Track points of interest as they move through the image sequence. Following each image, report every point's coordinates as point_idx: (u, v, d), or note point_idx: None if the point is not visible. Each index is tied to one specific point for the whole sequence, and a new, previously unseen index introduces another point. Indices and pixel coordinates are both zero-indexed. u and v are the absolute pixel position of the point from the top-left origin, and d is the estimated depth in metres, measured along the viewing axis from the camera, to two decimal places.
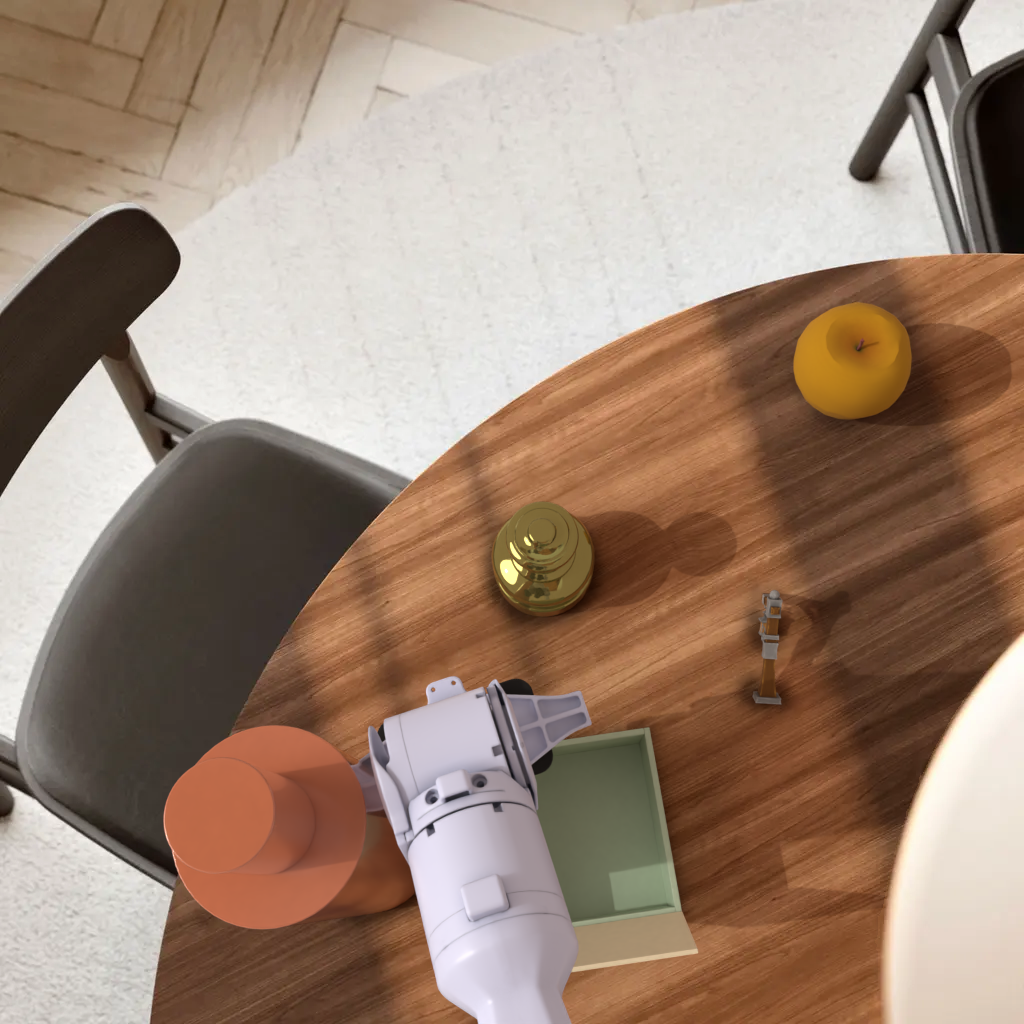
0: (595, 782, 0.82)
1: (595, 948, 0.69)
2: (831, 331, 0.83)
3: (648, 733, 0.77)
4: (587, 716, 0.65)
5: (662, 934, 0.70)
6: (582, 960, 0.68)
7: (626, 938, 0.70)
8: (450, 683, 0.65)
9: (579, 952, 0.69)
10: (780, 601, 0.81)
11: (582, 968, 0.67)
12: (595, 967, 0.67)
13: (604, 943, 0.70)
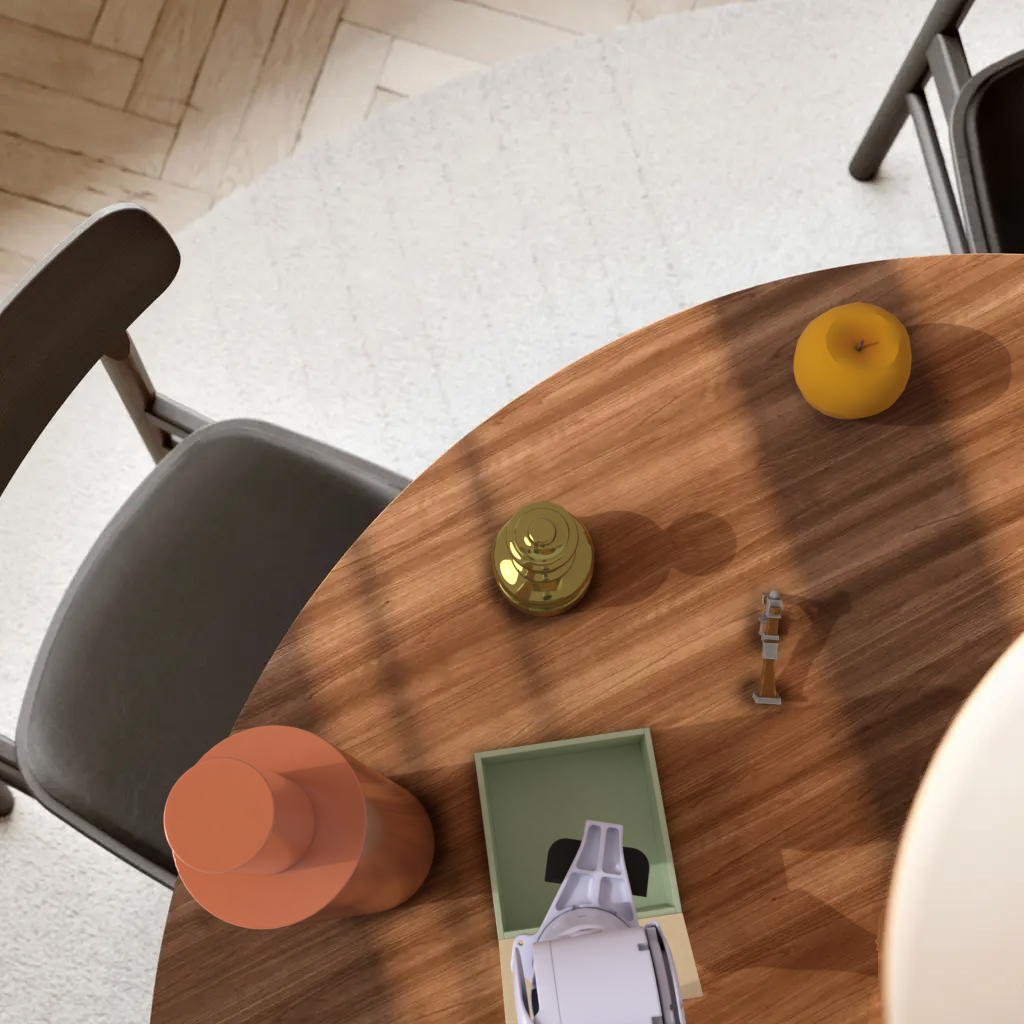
0: (595, 782, 0.82)
1: None
2: (831, 331, 0.83)
3: (648, 733, 0.77)
4: (613, 825, 0.62)
5: None
6: None
7: None
8: (520, 946, 0.60)
9: None
10: (780, 601, 0.81)
11: None
12: None
13: None
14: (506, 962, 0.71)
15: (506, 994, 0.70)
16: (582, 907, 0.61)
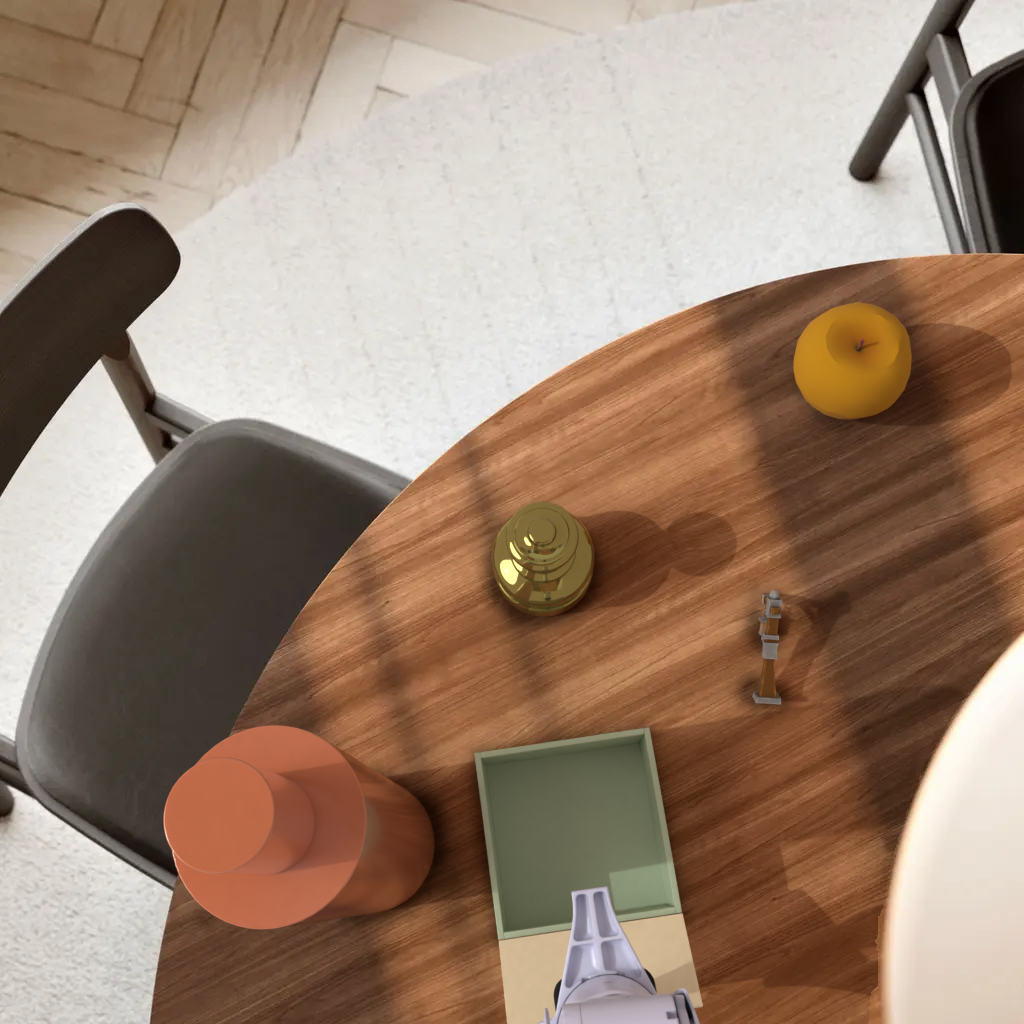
0: (595, 782, 0.82)
1: None
2: (831, 331, 0.83)
3: (648, 733, 0.77)
4: (598, 889, 0.63)
5: (665, 965, 0.71)
6: None
7: None
8: None
9: None
10: (780, 601, 0.81)
11: None
12: None
13: None
14: (507, 966, 0.72)
15: (508, 1002, 0.70)
16: (591, 978, 0.61)
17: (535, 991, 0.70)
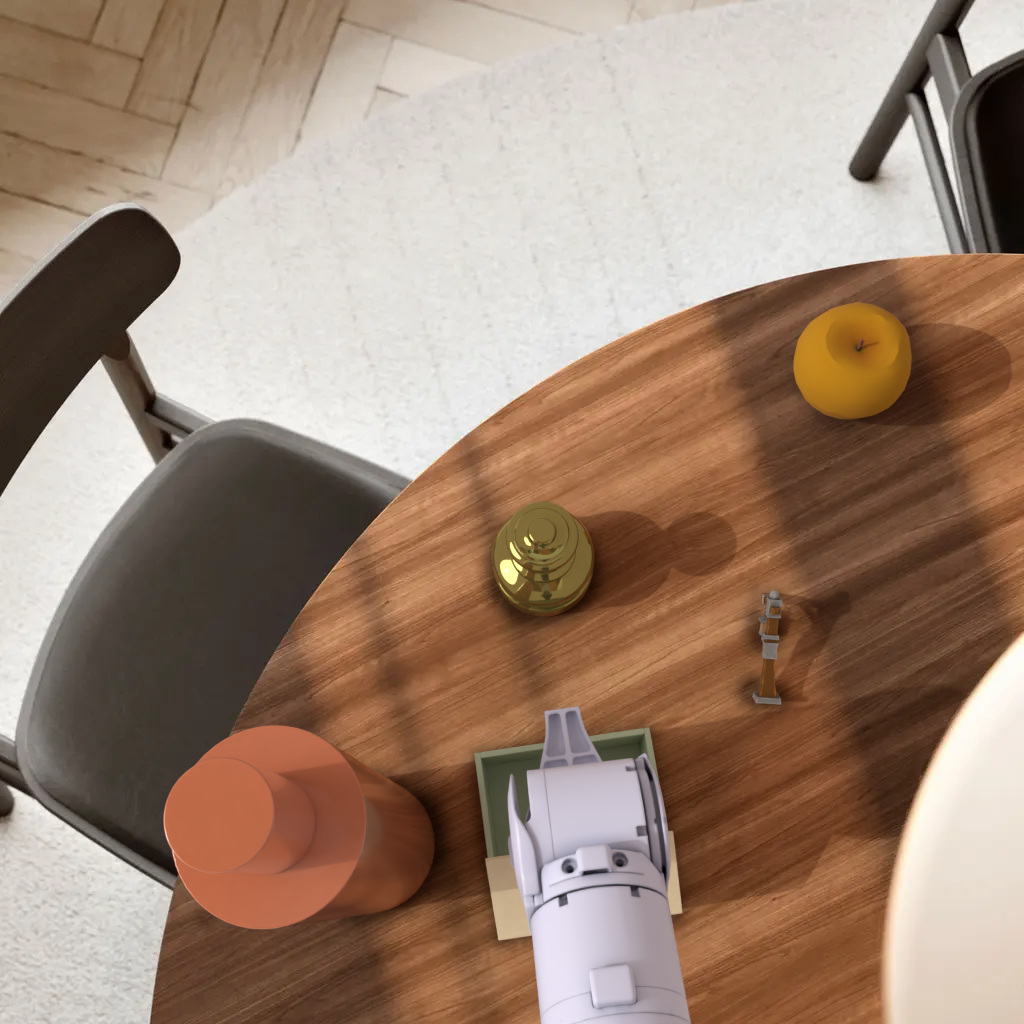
0: None
1: None
2: (831, 331, 0.83)
3: (648, 733, 0.77)
4: (570, 709, 0.65)
5: None
6: None
7: None
8: None
9: None
10: (780, 601, 0.81)
11: None
12: None
13: None
14: None
15: None
16: None
17: None
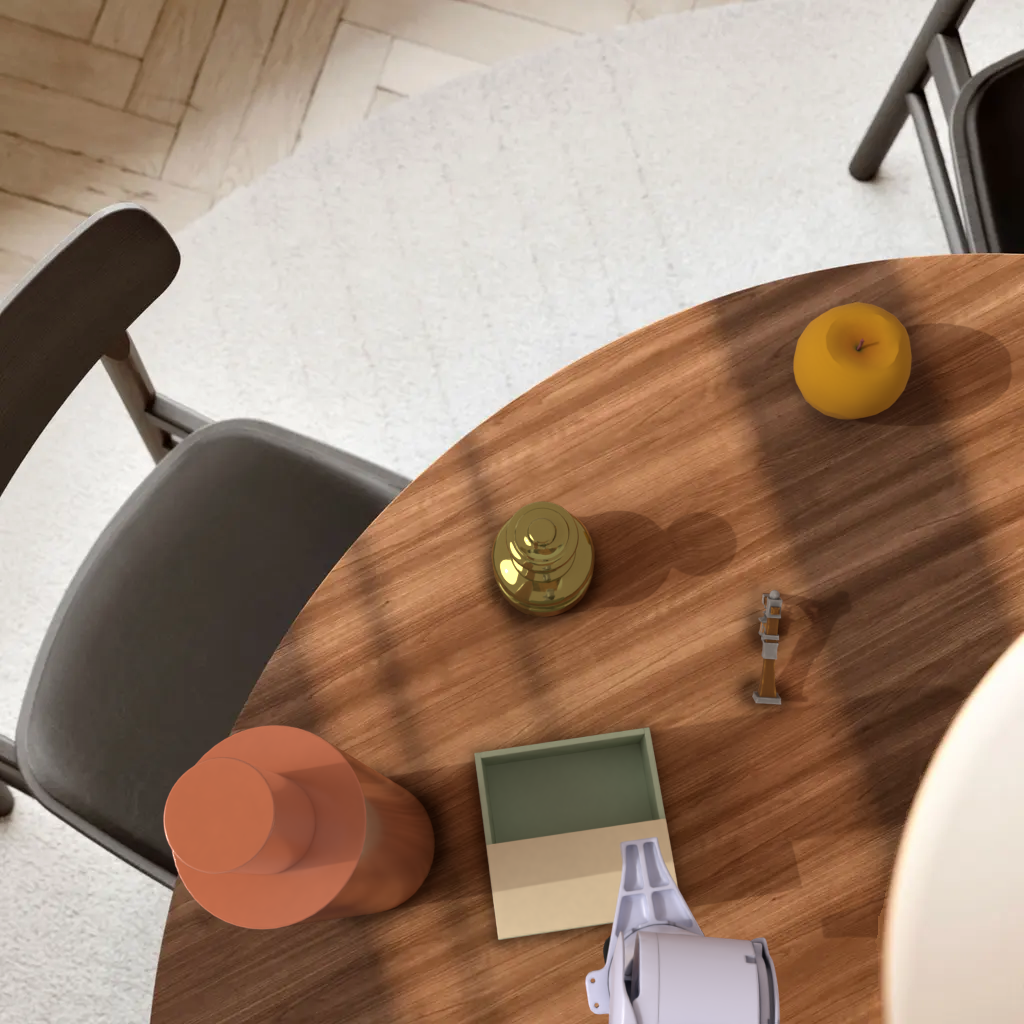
0: (595, 782, 0.82)
1: None
2: (831, 331, 0.83)
3: (648, 733, 0.77)
4: (648, 840, 0.62)
5: None
6: (564, 845, 0.75)
7: None
8: (593, 984, 0.60)
9: None
10: (780, 601, 0.81)
11: None
12: None
13: None
14: None
15: None
16: (641, 927, 0.61)
17: None
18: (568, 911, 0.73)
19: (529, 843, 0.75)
